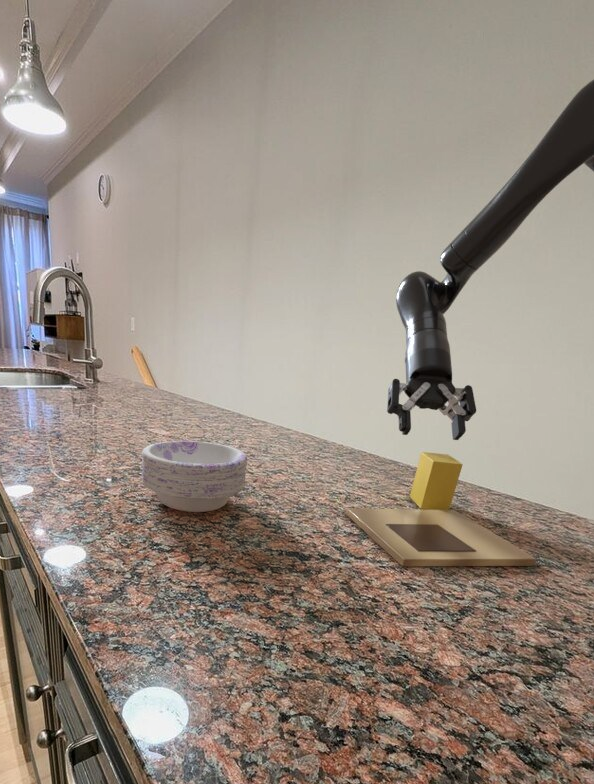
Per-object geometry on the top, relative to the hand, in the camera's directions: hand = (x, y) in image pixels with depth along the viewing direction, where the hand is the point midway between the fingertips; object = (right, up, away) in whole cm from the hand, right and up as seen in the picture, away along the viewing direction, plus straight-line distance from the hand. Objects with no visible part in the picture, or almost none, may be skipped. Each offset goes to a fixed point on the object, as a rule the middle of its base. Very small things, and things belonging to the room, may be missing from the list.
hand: (432, 435), depth 77 cm
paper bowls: (-41, -12, -9) cm, 44 cm away
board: (-8, -17, -15) cm, 24 cm away
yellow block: (-2, -12, -2) cm, 12 cm away
